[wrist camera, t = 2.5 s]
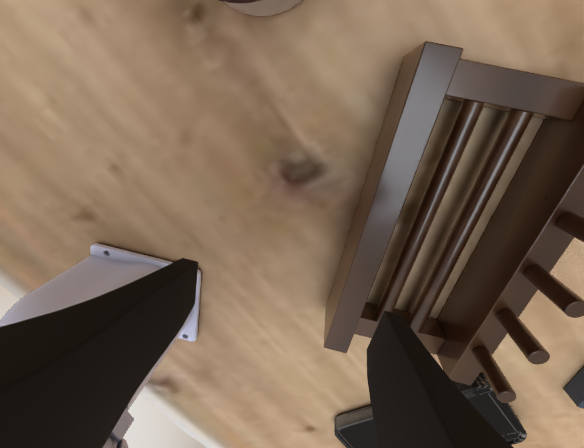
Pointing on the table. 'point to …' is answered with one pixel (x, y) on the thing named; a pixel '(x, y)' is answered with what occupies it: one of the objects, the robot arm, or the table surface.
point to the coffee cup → (261, 6)
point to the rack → (468, 214)
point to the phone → (360, 424)
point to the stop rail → (576, 389)
